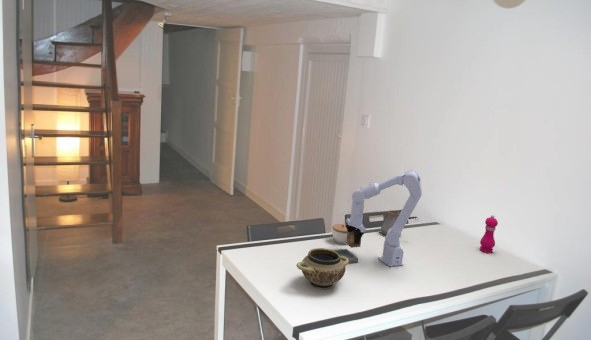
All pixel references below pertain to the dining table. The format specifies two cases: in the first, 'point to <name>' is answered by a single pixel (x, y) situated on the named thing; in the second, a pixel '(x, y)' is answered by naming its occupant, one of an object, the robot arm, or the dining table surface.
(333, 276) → the ceramic bowl
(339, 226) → the lidded jar
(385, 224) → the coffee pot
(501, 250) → the dining table surface
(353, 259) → the tray
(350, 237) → the walnut block
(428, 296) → the dining table surface
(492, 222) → the pepper mill
